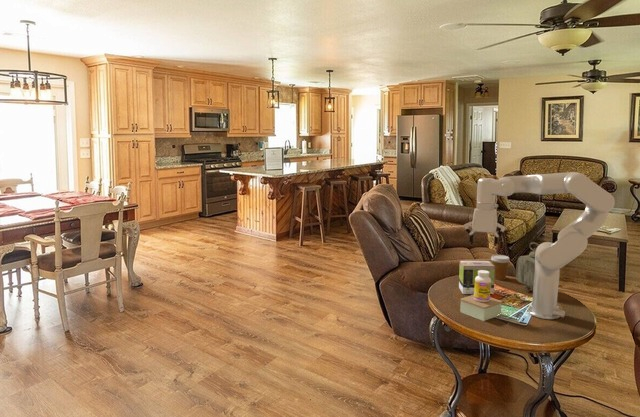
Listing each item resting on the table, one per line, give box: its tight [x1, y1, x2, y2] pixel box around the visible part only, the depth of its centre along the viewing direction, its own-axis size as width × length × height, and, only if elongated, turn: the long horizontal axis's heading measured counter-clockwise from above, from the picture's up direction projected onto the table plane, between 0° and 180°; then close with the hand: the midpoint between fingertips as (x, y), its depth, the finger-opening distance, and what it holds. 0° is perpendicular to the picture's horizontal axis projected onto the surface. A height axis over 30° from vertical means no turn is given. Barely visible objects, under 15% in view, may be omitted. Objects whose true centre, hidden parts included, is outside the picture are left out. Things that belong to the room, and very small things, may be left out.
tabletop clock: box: [515, 241, 540, 293], centre depth 223 cm, size 14×9×25 cm, turn 20°
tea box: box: [458, 260, 496, 295], centre depth 225 cm, size 15×10×15 cm, turn 84°
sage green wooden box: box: [459, 294, 503, 322], centre depth 198 cm, size 12×12×6 cm
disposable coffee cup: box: [490, 254, 511, 281], centre depth 246 cm, size 10×10×12 cm
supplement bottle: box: [473, 270, 491, 302], centre depth 196 cm, size 7×7×13 cm
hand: (483, 244), depth 201 cm, fingers open, 9 cm apart
